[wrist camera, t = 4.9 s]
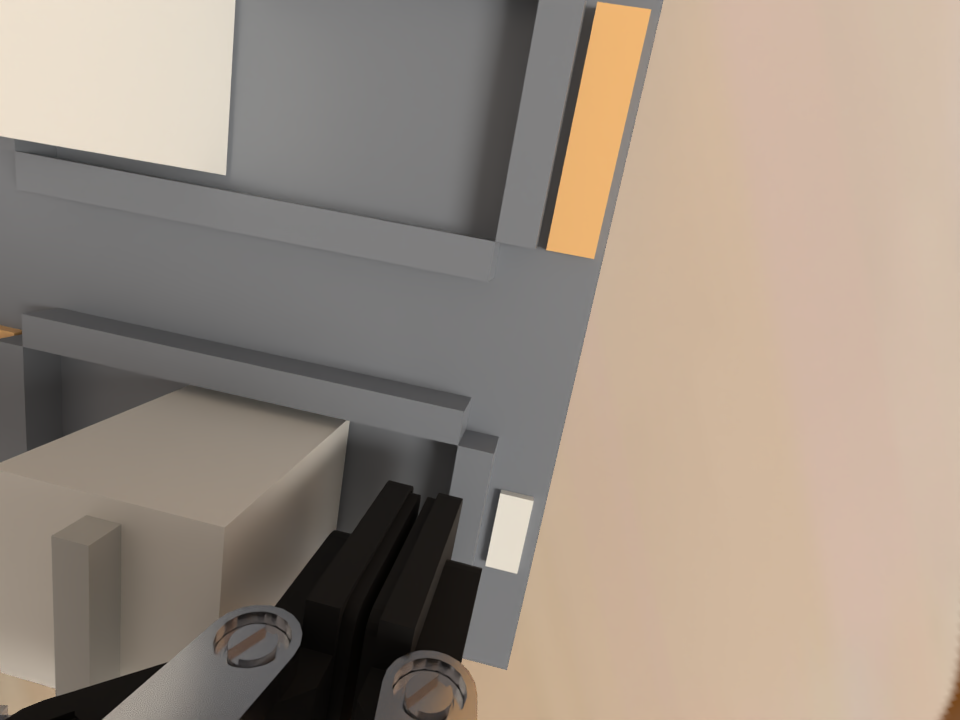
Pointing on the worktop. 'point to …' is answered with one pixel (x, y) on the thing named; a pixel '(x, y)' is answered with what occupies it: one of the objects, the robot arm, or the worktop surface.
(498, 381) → the switch board
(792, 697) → the worktop surface
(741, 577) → the worktop surface
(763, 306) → the worktop surface
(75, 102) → the white block with ridge
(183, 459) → the white switch slider block
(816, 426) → the worktop surface
